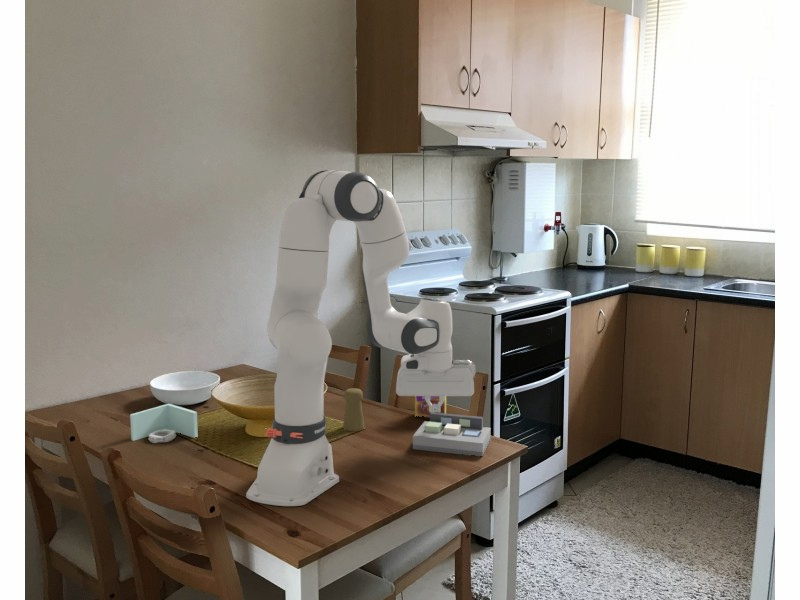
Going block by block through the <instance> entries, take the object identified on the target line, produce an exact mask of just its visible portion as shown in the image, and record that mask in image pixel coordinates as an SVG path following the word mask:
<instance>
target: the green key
mask: <svg viewBox="0 0 800 600" xmlns="http://www.w3.org/2000/svg"><path fill="white" fill-rule="evenodd" d="M427 422H428V423H427V424H426V426H425V432H430V433H441V431H442V423H438V422H430V421H427Z"/></svg>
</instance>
